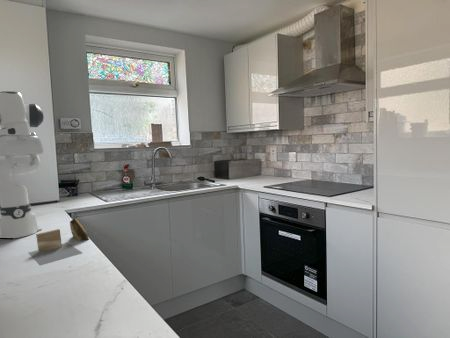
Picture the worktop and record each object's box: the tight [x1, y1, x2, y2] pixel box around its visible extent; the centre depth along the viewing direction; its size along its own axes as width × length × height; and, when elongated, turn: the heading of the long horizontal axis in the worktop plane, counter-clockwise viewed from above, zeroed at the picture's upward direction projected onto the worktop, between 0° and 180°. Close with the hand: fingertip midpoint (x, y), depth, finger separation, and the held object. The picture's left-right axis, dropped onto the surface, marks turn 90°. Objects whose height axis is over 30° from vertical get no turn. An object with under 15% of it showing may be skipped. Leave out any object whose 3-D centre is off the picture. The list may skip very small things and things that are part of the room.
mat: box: [28, 242, 83, 266], centre depth 120 cm, size 19×14×1 cm
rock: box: [69, 217, 90, 242], centre depth 137 cm, size 11×9×10 cm
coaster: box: [35, 228, 63, 253], centre depth 124 cm, size 2×8×7 cm, turn 132°
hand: (23, 166), depth 126 cm, fingers open, 8 cm apart
